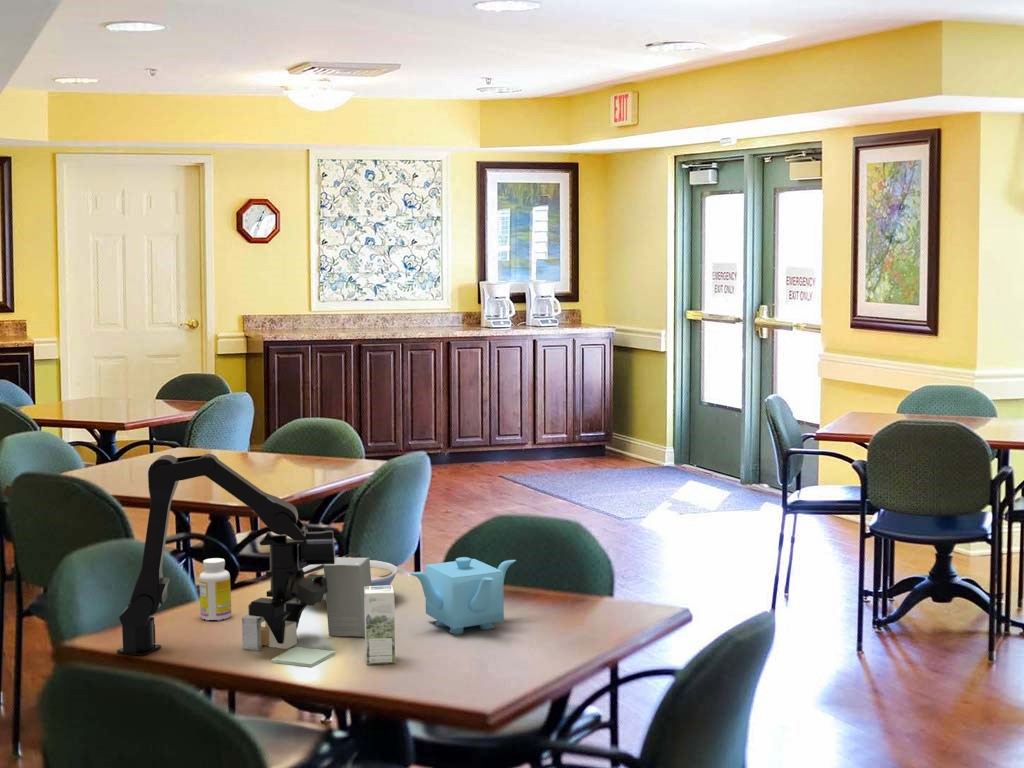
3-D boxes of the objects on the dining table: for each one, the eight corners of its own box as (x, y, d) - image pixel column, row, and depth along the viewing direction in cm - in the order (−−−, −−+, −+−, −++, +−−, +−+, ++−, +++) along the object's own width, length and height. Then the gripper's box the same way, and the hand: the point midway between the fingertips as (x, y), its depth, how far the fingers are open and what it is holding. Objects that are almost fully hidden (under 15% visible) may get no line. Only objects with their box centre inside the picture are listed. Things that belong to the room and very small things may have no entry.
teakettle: (439, 612, 306) (437, 547, 305) (520, 617, 301) (519, 551, 299) (408, 635, 288) (406, 566, 287) (493, 641, 283) (492, 571, 282)
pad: (311, 667, 267) (311, 664, 267) (271, 662, 270) (271, 659, 270) (334, 654, 275) (334, 651, 275) (295, 649, 278) (295, 646, 278)
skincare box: (375, 630, 292) (373, 556, 291) (362, 639, 286) (360, 564, 284) (337, 627, 295) (336, 554, 293) (324, 636, 288) (322, 562, 286)
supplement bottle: (235, 613, 307) (233, 557, 306) (226, 621, 300) (224, 563, 299) (206, 613, 307) (204, 556, 306) (196, 621, 301) (194, 563, 300)
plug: (286, 648, 279) (286, 627, 279) (244, 643, 283) (243, 622, 282) (296, 643, 283) (296, 622, 282) (254, 638, 287) (254, 617, 286)
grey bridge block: (257, 650, 278) (256, 618, 278) (242, 648, 280) (241, 617, 279) (283, 637, 288) (283, 606, 287) (269, 635, 289) (268, 605, 288)
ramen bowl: (356, 621, 300) (355, 584, 299) (274, 608, 311) (273, 572, 310) (420, 595, 321) (420, 561, 320) (341, 584, 333) (341, 551, 332)
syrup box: (394, 655, 274) (392, 583, 273) (395, 664, 268) (394, 591, 267) (365, 657, 273) (363, 585, 272) (366, 665, 267) (364, 592, 266)
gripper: (294, 578, 268) (296, 657, 270) (341, 558, 285) (343, 632, 287) (245, 574, 272) (247, 651, 274) (295, 554, 290) (296, 627, 291)
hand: (286, 640), depth 281 cm, fingers closed on plug, 4 cm apart
